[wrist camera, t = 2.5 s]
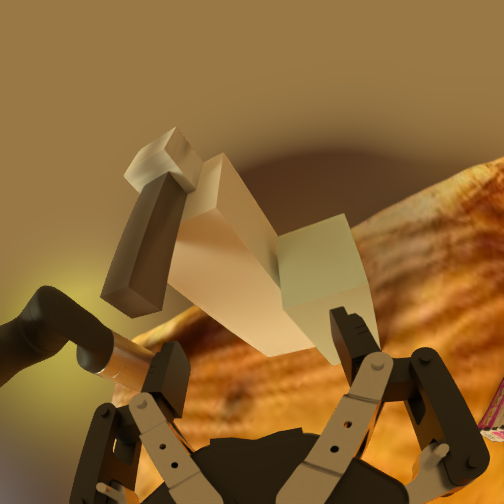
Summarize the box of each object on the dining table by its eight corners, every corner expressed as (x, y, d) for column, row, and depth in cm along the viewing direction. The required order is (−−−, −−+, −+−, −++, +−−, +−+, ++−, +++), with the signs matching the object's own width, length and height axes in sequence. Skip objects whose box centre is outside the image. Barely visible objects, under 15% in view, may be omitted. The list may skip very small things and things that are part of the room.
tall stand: (268, 356, 45) (128, 249, 24) (266, 313, 51) (150, 191, 30) (323, 344, 42) (215, 207, 20) (316, 299, 48) (223, 152, 26)
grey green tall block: (332, 365, 39) (282, 308, 24) (324, 316, 45) (275, 237, 30) (380, 352, 36) (368, 283, 22) (368, 303, 42) (344, 213, 28)
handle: (123, 320, 18) (69, 284, 14) (166, 182, 29) (139, 150, 25) (173, 307, 16) (113, 261, 13) (203, 162, 27) (176, 126, 24)
